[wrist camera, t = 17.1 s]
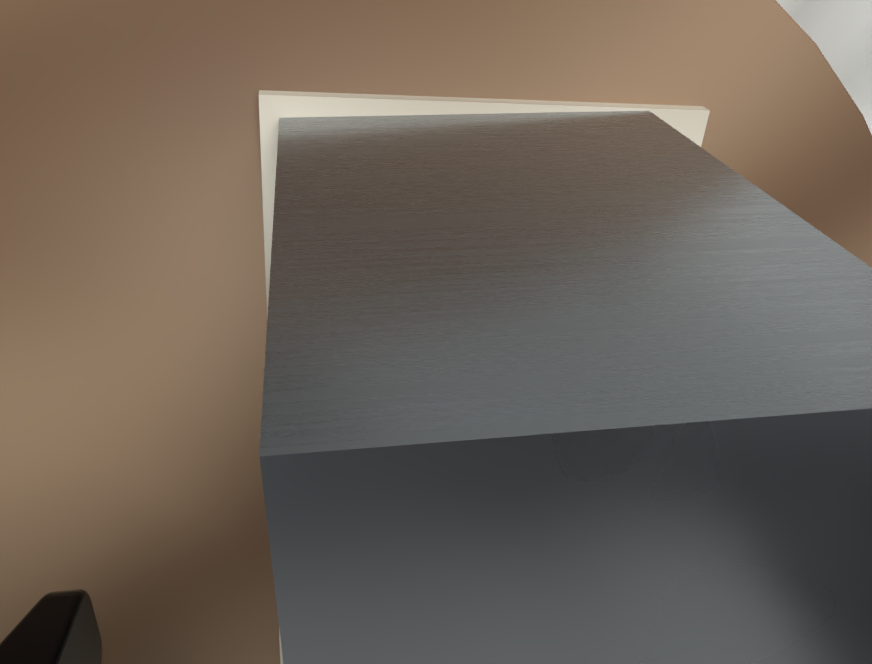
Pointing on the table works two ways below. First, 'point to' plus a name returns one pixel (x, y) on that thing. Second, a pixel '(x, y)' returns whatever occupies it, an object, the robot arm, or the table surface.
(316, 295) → the brushed steel bar
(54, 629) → the robot arm
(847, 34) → the table surface
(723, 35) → the dial
